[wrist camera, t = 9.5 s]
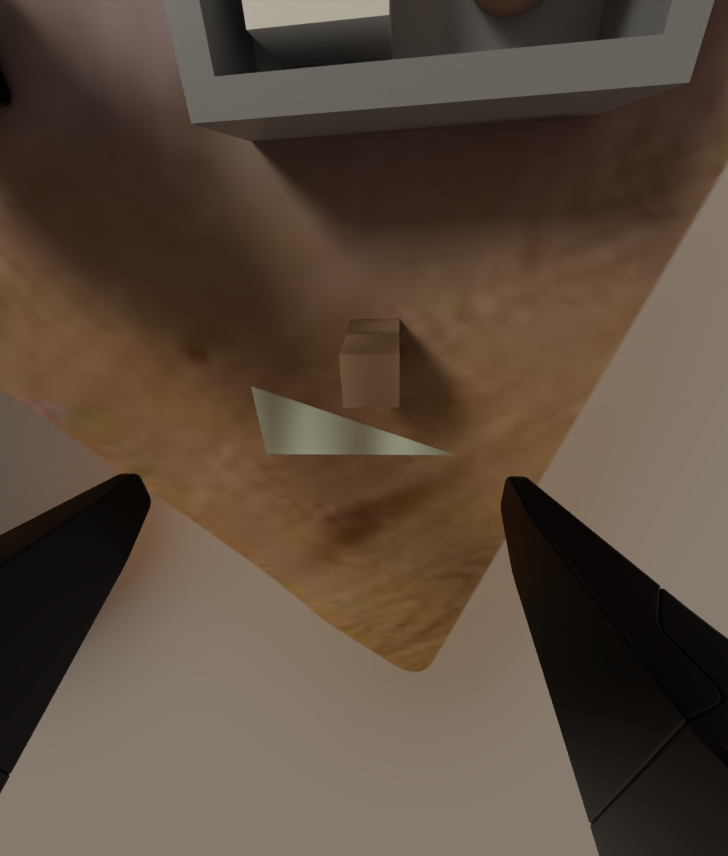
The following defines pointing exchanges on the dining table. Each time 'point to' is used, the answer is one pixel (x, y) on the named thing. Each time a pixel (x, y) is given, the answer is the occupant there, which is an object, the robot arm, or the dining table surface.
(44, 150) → the dining table surface
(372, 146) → the dining table surface
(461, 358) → the dining table surface
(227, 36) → the storage box
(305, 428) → the lid
